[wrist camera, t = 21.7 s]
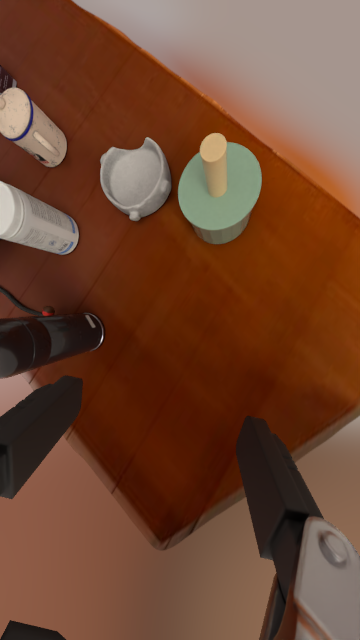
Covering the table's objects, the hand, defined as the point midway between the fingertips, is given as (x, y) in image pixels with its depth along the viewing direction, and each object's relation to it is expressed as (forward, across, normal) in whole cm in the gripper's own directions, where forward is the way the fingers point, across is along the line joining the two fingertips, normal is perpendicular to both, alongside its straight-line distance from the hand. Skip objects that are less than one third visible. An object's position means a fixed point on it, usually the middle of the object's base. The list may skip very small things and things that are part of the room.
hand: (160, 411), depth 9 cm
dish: (+39, +14, -21) cm, 46 cm away
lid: (+26, -1, -19) cm, 32 cm away
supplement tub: (+41, +33, -8) cm, 53 cm away
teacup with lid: (+45, +38, -27) cm, 65 cm away
